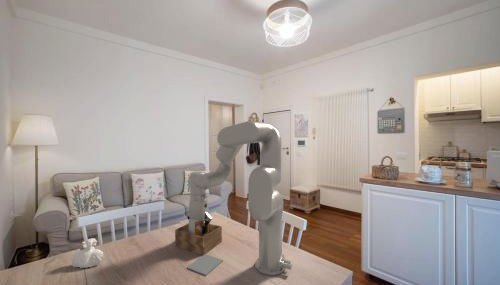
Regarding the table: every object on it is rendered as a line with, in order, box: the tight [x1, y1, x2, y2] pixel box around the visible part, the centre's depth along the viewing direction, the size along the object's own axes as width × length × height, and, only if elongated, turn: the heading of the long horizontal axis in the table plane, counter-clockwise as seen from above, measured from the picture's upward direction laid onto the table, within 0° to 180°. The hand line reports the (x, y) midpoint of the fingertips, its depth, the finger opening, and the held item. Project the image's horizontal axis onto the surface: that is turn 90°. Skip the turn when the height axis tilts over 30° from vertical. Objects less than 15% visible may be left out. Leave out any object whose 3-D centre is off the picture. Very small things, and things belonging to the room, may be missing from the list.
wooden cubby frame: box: [174, 222, 223, 256], centre depth 107 cm, size 18×14×8 cm
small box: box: [188, 218, 209, 237], centre depth 107 cm, size 8×6×13 cm
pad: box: [186, 253, 224, 277], centre depth 90 cm, size 10×11×1 cm
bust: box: [71, 237, 104, 269], centre depth 92 cm, size 12×8×11 cm
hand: (198, 231), depth 107 cm, fingers closed on small box, 7 cm apart
